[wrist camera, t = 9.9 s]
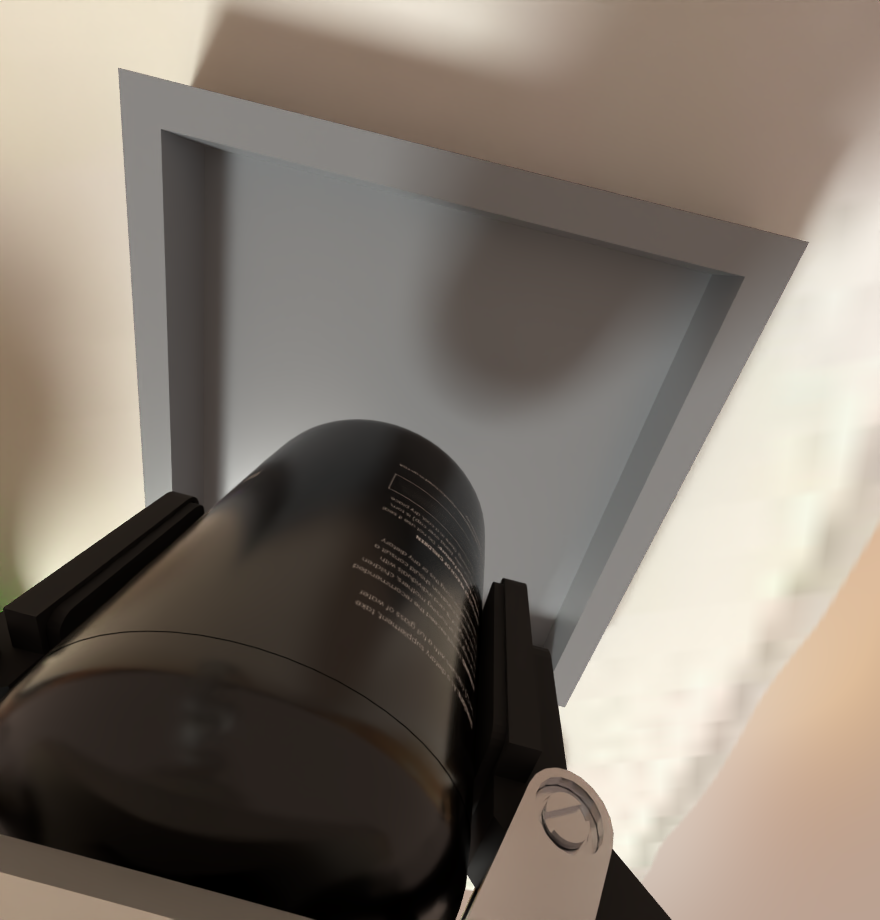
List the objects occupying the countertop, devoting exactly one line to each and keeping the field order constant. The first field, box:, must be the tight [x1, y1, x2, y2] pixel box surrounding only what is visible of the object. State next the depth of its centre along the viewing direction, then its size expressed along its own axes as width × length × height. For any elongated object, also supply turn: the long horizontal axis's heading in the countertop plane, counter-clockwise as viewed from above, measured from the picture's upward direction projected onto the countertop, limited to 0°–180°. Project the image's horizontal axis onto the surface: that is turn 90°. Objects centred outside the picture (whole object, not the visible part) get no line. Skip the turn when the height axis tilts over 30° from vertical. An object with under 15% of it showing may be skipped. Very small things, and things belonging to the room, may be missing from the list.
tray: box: [118, 68, 809, 707], centre depth 18 cm, size 20×20×3 cm
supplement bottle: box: [0, 419, 485, 920], centre depth 8 cm, size 7×7×12 cm
